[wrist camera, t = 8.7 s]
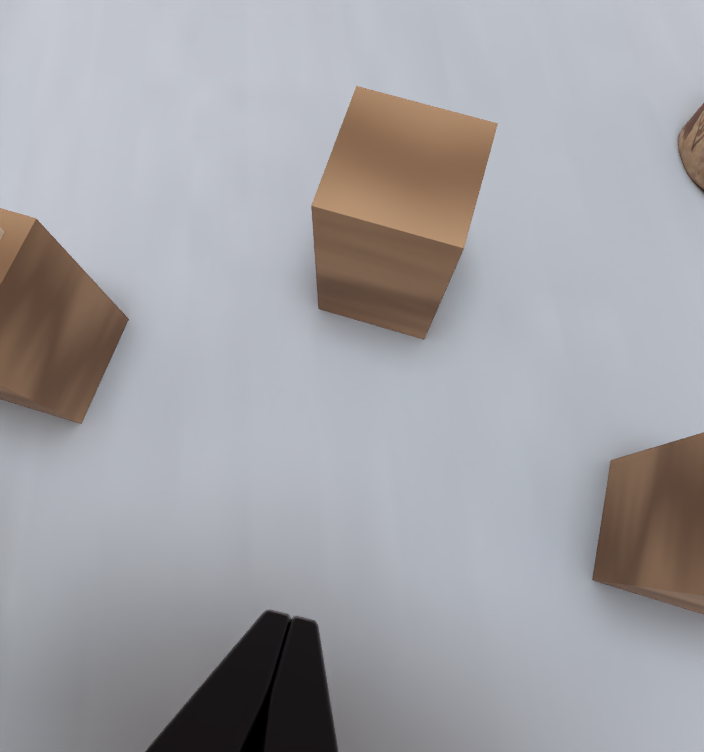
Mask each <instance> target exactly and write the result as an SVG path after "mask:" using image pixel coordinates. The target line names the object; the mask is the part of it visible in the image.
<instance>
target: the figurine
mask: <svg viewBox="0 0 704 752" xmlns="http://www.w3.org/2000/svg"><path fill="white" fill-rule="evenodd" d="M679 152H680V156H681V159H682V161H683V164H684V167H685V169H686V171H687V173H688V174H689V176H690V177H691V178H692V179H693V181H694V182H695V183H696V184H697V185H698V186H699V187H701V188H702V189H703V190H704V104H703V105H702V106H701V107H700V108H699V109H698V111H697V112H696V113H695V114H694V115H693V117H692V118H691V119H690V120H689V122H688V123H687V124H686V125H685V126H684V128H683V130H682V132H681V134H680V136H679Z"/></svg>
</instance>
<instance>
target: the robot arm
mask: <svg viewBox="0 0 704 752" xmlns="http://www.w3.org/2000/svg"><path fill="white" fill-rule="evenodd" d="M145 752H338V747H337V741H336V734H335V728H334V722H333V716H332V709H331V703H330V697H329V691H328V684H327V678H326V672H325V665H324V659H323V653H322V647H321V640H320V634H319V628H318V624H317V622H316V621H314V620H311V619H307V618H303V617H299V616H294V617H293V618H292V619H291V617H290V615H288V614H286V613H282V612H278V611H273V610H266V611H265V612H264V613H263V614H262V615H261V616H260V617H259V618H258V619H257V621H256V622H255V623H254V624H253V625H252V626H251V628H250V629H249V630H248V631H247V632H246V633H245V635H244V636H243V637H242V638H241V639H240V641H239V642H238V643H237V644H236V645H235V646H234V648H233V649H232V650H231V651H230V652H229V653H228V655H227V656H226V657H225V658H224V659H223V661H222V662H221V663H220V664H219V665H218V666H217V668H216V669H215V670H214V671H213V672H212V673H211V675H210V676H209V677H208V678H207V679H206V681H205V682H204V683H203V684H202V685H201V686H200V688H199V689H198V690H197V691H196V692H195V693H194V695H193V696H192V697H191V698H190V699H189V700H188V702H187V703H186V704H185V705H184V706H183V708H182V709H181V710H180V711H179V712H178V713H177V715H176V716H175V717H174V718H173V719H172V720H171V722H170V723H169V724H168V725H167V726H166V728H165V729H164V730H163V731H162V732H161V733H160V735H159V736H158V737H157V738H156V739H155V740H154V742H153V743H152V744H151V745H150V746H149V748H148V749H147V750H146V751H145Z"/></svg>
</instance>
